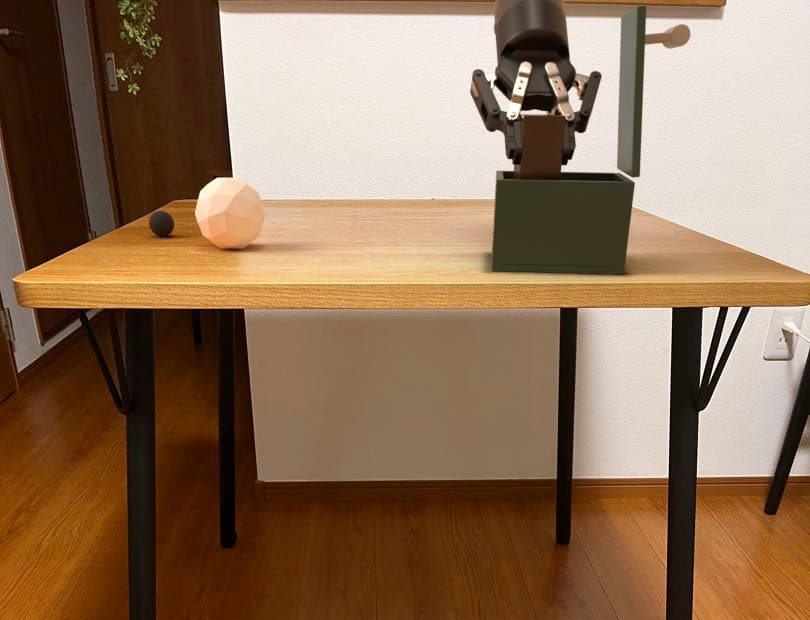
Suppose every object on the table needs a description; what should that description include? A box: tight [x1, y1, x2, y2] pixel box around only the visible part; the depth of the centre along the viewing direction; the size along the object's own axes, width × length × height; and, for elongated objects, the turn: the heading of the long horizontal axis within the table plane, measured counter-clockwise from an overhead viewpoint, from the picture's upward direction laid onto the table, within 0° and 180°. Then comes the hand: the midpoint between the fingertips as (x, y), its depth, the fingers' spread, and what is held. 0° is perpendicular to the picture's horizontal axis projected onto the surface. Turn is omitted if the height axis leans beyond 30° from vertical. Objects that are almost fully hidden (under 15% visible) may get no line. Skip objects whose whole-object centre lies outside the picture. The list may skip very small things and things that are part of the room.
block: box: [513, 113, 566, 180], centre depth 90 cm, size 4×4×9 cm
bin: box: [491, 170, 636, 275], centre depth 93 cm, size 13×11×9 cm
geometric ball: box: [194, 177, 266, 250], centre depth 100 cm, size 8×8×8 cm
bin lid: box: [616, 4, 691, 179], centre depth 86 cm, size 14×11×5 cm
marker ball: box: [148, 210, 175, 237], centre depth 108 cm, size 3×3×3 cm
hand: (541, 158), depth 88 cm, fingers closed on block, 4 cm apart
